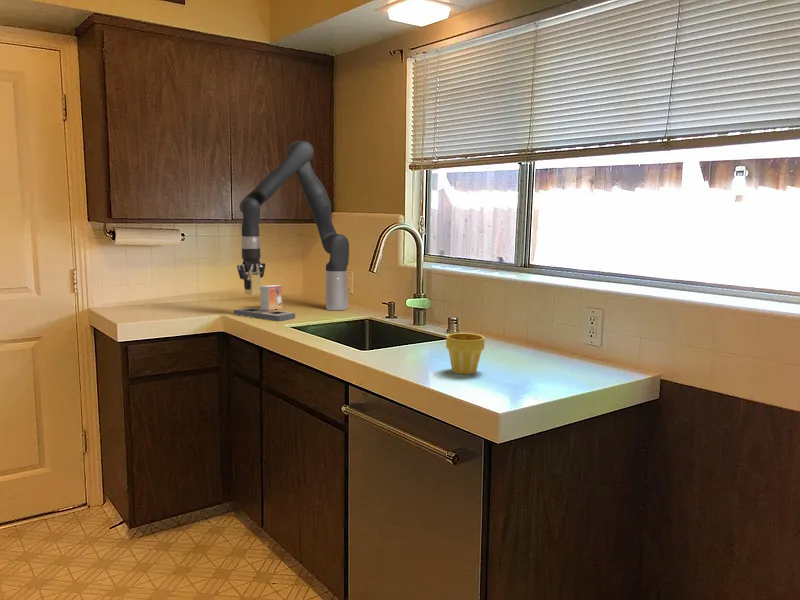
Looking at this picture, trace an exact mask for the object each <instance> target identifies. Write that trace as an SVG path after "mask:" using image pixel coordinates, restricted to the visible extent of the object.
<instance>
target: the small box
mask: <svg viewBox="0 0 800 600" xmlns="http://www.w3.org/2000/svg"><path fill="white" fill-rule="evenodd" d="M259 296H260V298H259V299H260V300H259V301H260V302H259V303H260V306H259V307H260V308H259V309H265V310H273V311H276V310H275V309H278V310H283V285H282V284H281V285H279V284H271V285H269V284H268V285H260V294H259Z"/></svg>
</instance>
